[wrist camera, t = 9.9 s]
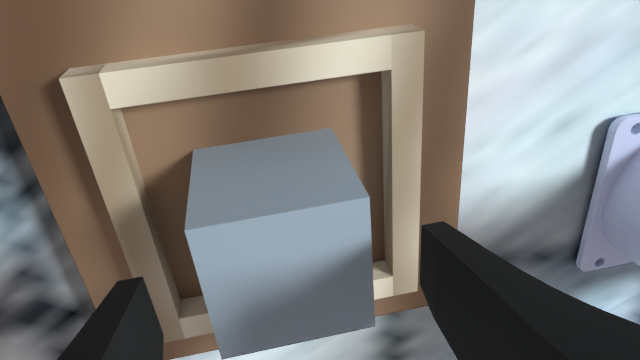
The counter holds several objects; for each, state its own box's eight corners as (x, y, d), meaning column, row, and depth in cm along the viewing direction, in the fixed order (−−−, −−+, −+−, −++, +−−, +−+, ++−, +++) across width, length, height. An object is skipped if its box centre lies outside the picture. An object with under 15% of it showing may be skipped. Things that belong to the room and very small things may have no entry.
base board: (456, -58, 15) (497, -55, 13) (437, 278, 22) (461, 317, 20) (-16, -7, 13) (-63, 7, 11) (128, 340, 20) (117, 390, 18)
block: (331, 127, 15) (369, 197, 11) (340, 237, 18) (375, 326, 14) (193, 150, 15) (184, 230, 11) (221, 260, 17) (221, 359, 13)
